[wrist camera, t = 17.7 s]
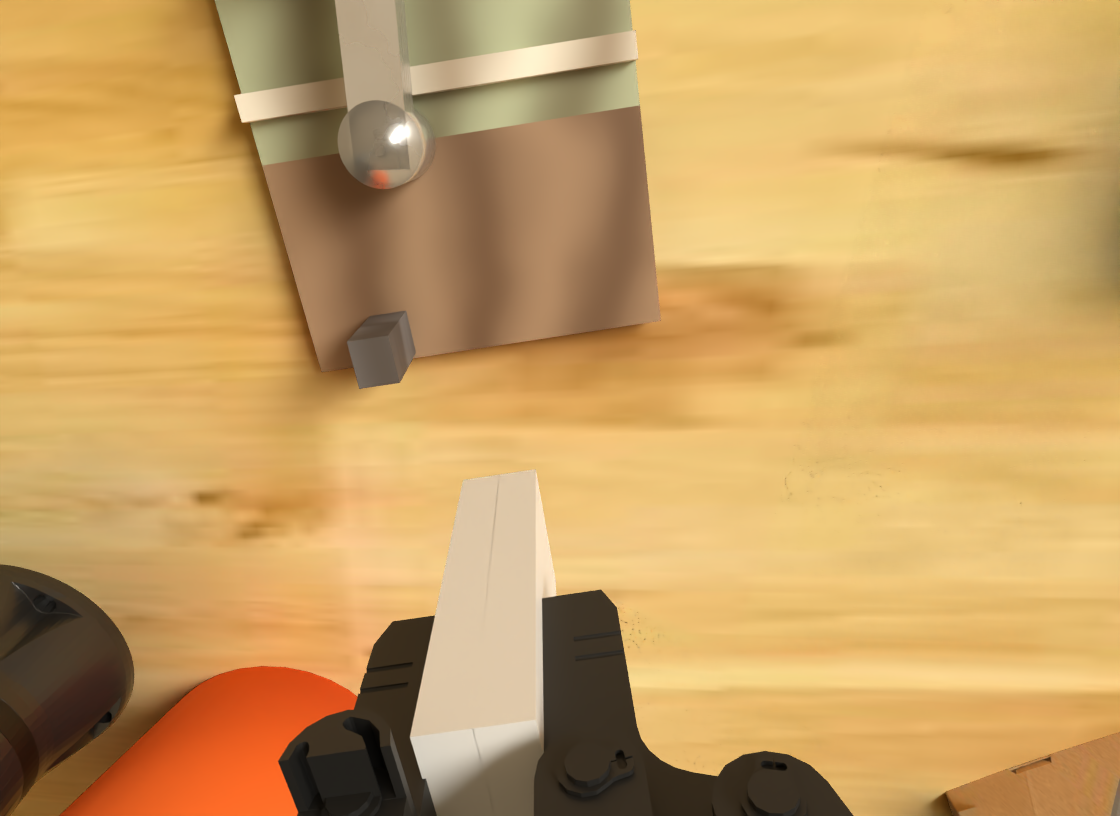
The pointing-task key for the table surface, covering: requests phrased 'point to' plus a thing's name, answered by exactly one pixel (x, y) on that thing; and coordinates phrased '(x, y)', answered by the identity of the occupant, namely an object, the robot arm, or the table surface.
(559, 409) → the table surface
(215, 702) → the flowerpot
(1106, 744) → the sandwich container
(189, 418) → the table surface
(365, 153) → the lock bar
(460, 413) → the table surface
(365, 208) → the lever base plate
